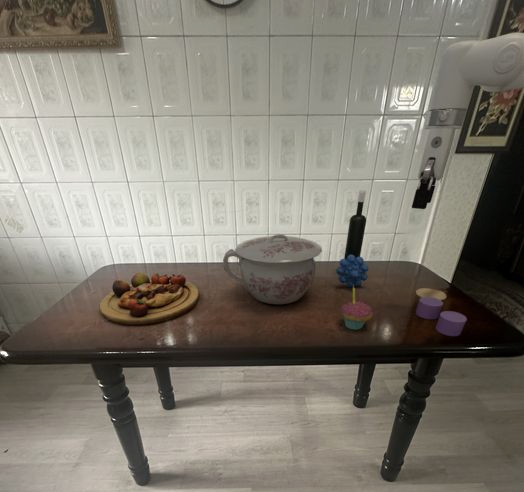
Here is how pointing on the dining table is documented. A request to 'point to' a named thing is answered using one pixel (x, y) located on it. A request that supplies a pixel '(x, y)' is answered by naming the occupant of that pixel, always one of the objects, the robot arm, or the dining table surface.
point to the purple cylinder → (429, 307)
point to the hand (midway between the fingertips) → (421, 205)
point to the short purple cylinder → (451, 323)
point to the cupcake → (356, 313)
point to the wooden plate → (148, 299)
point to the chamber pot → (275, 267)
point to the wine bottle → (356, 229)
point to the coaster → (431, 293)
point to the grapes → (352, 271)
